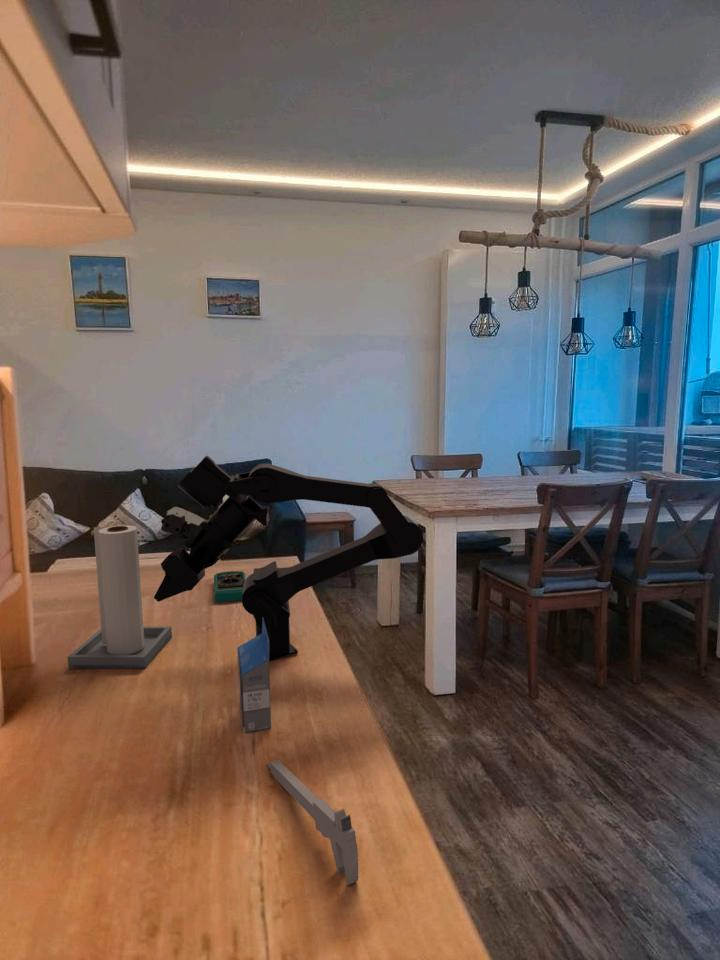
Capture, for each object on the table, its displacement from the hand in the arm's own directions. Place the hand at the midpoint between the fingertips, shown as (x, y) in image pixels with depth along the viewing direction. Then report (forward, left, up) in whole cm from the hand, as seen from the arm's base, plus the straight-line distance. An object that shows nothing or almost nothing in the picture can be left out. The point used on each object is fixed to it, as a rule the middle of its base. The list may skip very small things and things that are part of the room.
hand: (166, 589), depth 99 cm
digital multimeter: (+25, -20, -12) cm, 34 cm away
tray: (+4, +7, -11) cm, 14 cm away
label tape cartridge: (-27, -5, -12) cm, 29 cm away
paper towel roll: (+4, +7, -11) cm, 13 cm away
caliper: (-48, -2, -12) cm, 50 cm away
